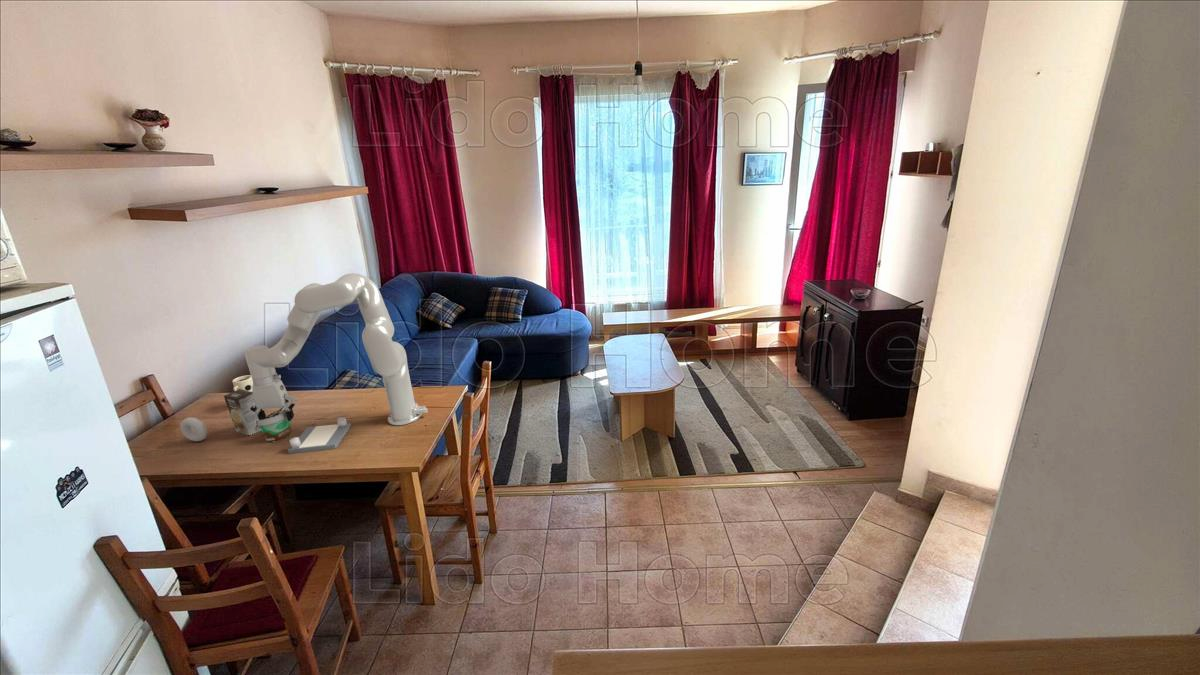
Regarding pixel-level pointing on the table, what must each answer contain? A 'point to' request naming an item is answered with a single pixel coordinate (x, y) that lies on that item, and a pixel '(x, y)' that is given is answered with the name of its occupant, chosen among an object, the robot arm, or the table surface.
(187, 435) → the donut
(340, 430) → the board
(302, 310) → the robot arm
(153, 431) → the table surface
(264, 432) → the food container
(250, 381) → the character mug
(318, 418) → the table surface
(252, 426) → the coffee box
